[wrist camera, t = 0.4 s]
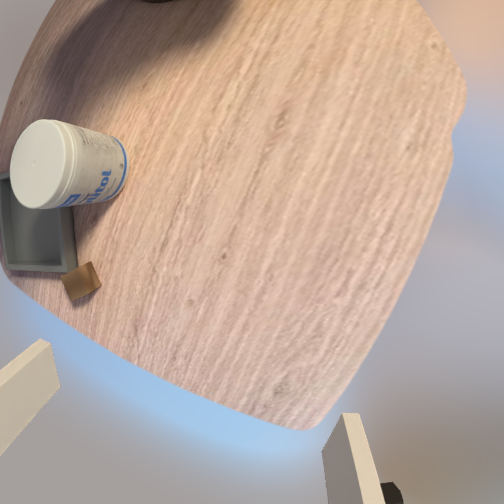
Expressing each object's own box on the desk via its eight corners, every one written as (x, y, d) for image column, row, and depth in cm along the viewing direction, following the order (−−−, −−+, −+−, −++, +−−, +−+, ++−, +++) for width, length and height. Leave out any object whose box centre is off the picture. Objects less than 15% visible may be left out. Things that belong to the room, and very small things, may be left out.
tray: (8, 174, 37) (-3, 175, 34) (70, 157, 36) (58, 156, 33) (16, 265, 41) (6, 269, 38) (78, 267, 39) (67, 272, 36)
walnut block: (74, 269, 40) (60, 276, 36) (91, 261, 39) (76, 268, 35) (85, 292, 40) (71, 301, 37) (102, 285, 40) (88, 293, 36)
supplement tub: (110, 214, 37) (40, 231, 23) (69, 179, 37) (-1, 182, 22) (145, 155, 35) (80, 143, 21) (101, 123, 34) (32, 104, 20)
